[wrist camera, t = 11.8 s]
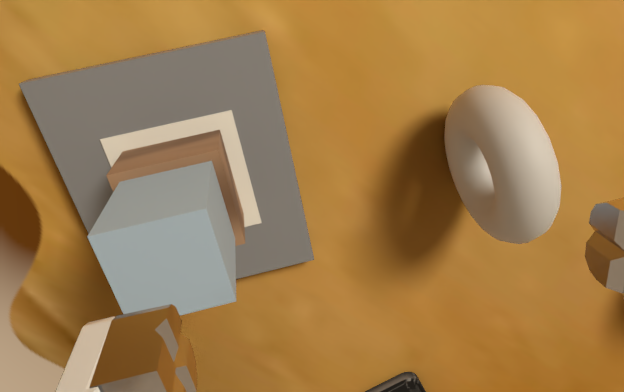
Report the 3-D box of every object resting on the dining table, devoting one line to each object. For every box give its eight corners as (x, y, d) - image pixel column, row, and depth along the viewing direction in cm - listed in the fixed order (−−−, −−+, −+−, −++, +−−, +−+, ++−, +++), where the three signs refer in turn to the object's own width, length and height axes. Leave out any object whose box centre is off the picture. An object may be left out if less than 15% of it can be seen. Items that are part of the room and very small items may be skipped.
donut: (424, 81, 30) (506, 119, 21) (472, 64, 30) (575, 95, 21) (446, 207, 34) (522, 284, 25) (489, 193, 35) (580, 264, 26)
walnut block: (122, 151, 27) (106, 175, 24) (219, 129, 28) (218, 149, 24) (155, 234, 30) (145, 268, 26) (243, 213, 30) (245, 243, 27)
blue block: (119, 181, 24) (87, 236, 19) (211, 160, 24) (206, 208, 19) (150, 259, 26) (130, 328, 21) (235, 238, 27) (236, 301, 21)
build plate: (27, 79, 26) (17, 83, 25) (263, 30, 27) (264, 31, 26) (126, 296, 33) (122, 308, 32) (311, 251, 34) (314, 260, 33)
